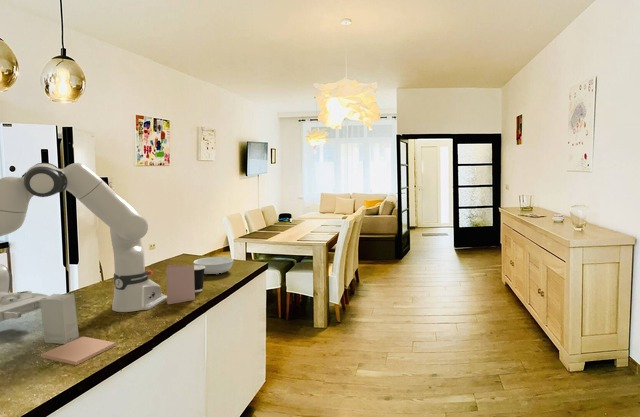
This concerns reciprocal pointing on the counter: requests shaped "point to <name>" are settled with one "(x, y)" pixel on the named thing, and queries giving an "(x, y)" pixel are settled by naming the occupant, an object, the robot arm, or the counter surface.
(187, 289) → the greeting card
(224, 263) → the serving bowl
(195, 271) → the dixie cup
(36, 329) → the counter surface
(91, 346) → the terracotta mat
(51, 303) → the skincare box
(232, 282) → the counter surface
